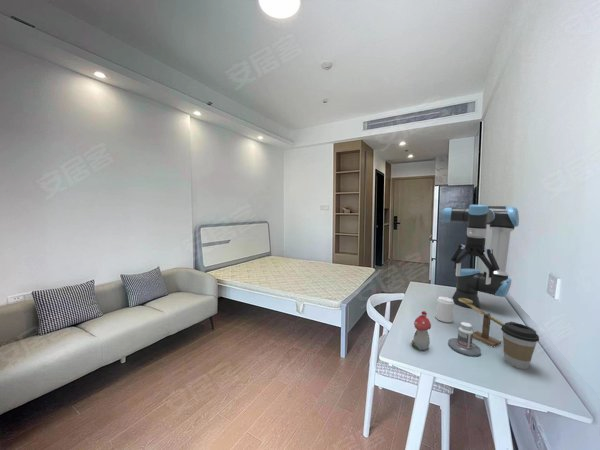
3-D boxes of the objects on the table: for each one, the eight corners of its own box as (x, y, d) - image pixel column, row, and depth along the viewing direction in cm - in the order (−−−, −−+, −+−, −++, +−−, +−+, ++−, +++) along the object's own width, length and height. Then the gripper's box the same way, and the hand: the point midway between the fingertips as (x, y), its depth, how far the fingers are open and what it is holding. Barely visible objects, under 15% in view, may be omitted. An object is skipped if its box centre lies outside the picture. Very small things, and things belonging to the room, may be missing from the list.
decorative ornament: (419, 339, 112) (421, 308, 111) (433, 346, 107) (436, 314, 106) (407, 345, 107) (410, 313, 106) (422, 353, 101) (425, 319, 100)
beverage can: (455, 324, 129) (457, 302, 128) (438, 322, 131) (440, 300, 130) (449, 317, 137) (450, 297, 136) (433, 315, 139) (435, 295, 138)
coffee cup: (535, 364, 97) (540, 328, 96) (535, 377, 89) (539, 338, 88) (499, 351, 105) (503, 318, 104) (495, 362, 97) (499, 326, 96)
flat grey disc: (457, 338, 115) (458, 336, 115) (486, 352, 104) (486, 349, 104) (442, 344, 109) (442, 341, 109) (470, 359, 99) (471, 356, 99)
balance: (460, 325, 127) (463, 297, 126) (523, 353, 104) (527, 318, 103) (452, 328, 124) (455, 298, 123) (515, 357, 101) (519, 321, 100)
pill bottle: (465, 342, 110) (467, 321, 109) (474, 349, 104) (477, 327, 103) (454, 342, 109) (456, 321, 108) (462, 349, 104) (464, 327, 103)
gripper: (445, 233, 125) (442, 273, 127) (503, 241, 103) (498, 289, 105) (454, 233, 129) (451, 271, 131) (511, 240, 107) (506, 286, 109)
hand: (472, 279), depth 118 cm, fingers open, 13 cm apart
